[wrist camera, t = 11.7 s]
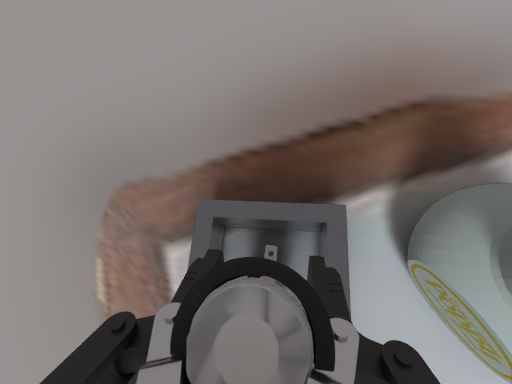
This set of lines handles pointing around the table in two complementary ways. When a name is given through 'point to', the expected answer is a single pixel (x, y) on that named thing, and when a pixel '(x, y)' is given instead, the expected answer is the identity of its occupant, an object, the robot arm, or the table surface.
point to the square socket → (275, 227)
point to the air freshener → (469, 269)
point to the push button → (252, 326)
